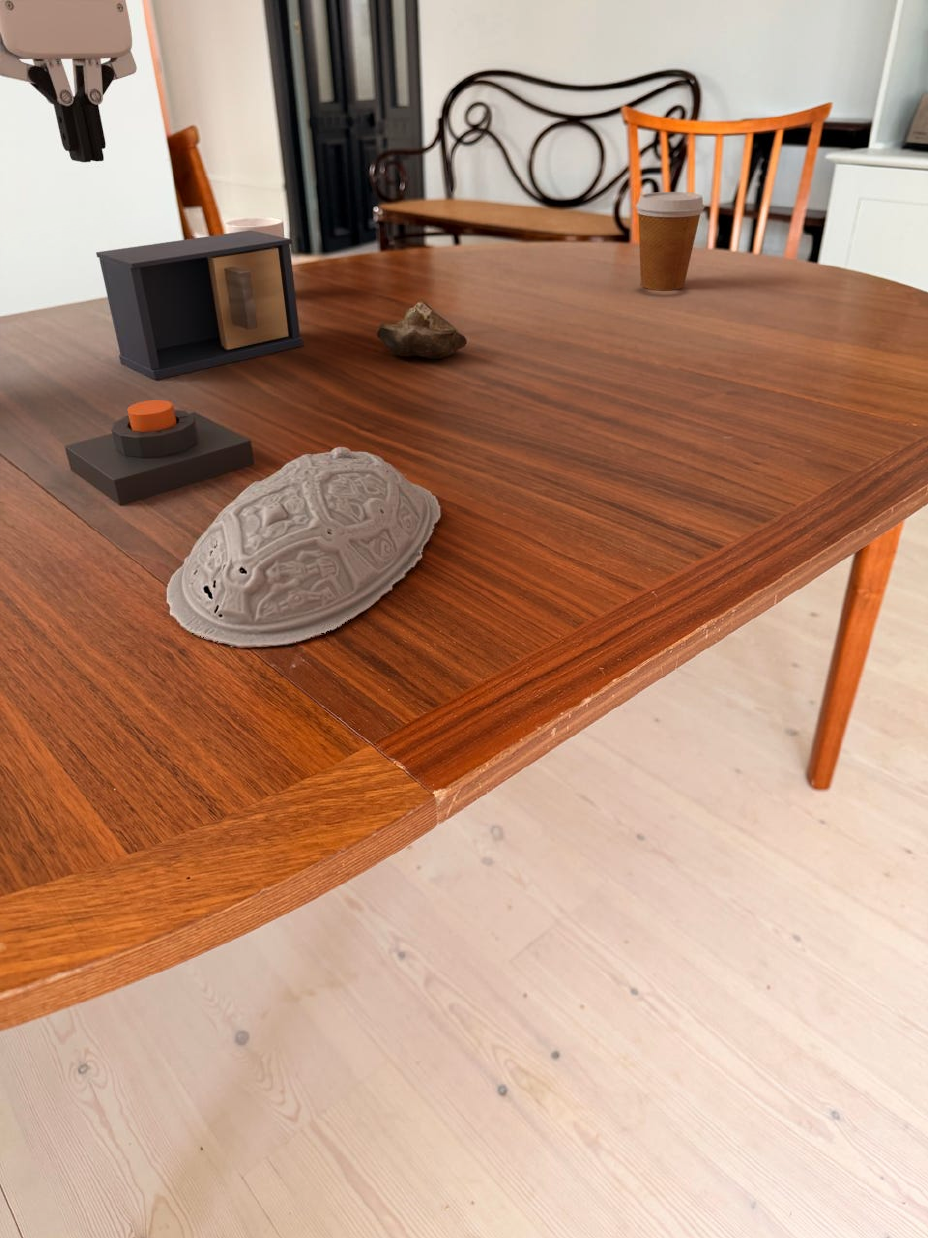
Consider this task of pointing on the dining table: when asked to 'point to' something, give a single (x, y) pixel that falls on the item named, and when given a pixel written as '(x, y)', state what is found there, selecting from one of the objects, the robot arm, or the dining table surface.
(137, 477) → the switch block
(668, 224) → the disposable coffee cup
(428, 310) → the fossilized seashell
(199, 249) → the closet
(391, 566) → the grey embossed domed part
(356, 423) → the dining table surface
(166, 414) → the orange button
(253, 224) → the white cup
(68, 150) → the robot arm
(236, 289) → the closet door
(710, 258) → the dining table surface
